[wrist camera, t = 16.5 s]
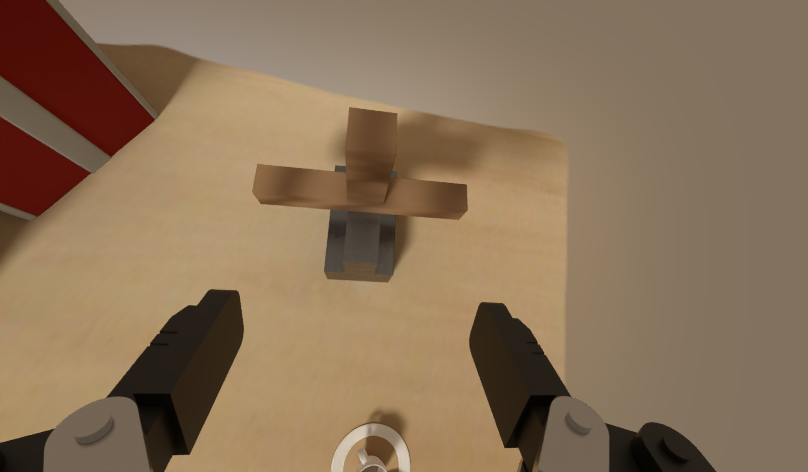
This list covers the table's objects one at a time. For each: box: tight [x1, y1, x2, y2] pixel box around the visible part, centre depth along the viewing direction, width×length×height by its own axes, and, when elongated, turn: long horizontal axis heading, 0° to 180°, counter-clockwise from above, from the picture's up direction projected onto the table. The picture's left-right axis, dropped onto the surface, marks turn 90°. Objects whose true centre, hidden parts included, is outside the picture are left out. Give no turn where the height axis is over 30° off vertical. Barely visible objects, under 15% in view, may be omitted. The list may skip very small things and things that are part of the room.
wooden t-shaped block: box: [252, 107, 468, 220], centre depth 24 cm, size 18×3×10 cm, turn 89°
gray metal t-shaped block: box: [324, 165, 397, 282], centre depth 34 cm, size 12×7×10 cm, turn 178°
